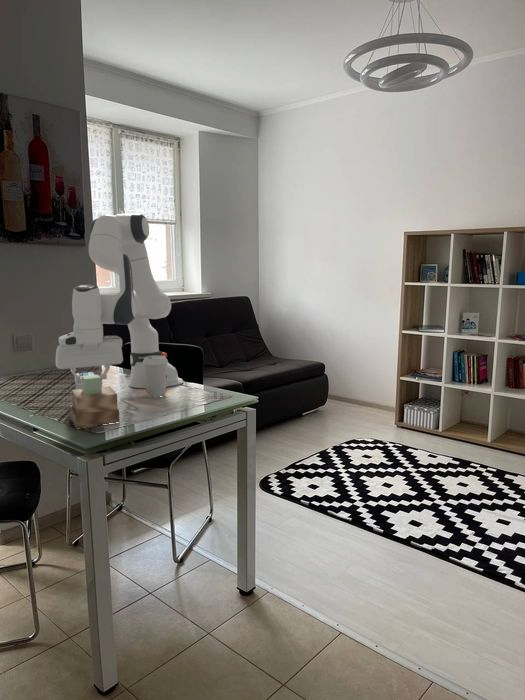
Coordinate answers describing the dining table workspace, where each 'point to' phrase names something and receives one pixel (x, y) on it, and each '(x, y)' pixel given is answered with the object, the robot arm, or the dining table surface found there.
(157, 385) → the coffee cup
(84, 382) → the sage block
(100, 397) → the oak top block
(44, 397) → the dining table surface
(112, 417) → the walnut base block
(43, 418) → the dining table surface
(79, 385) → the light bulb box
